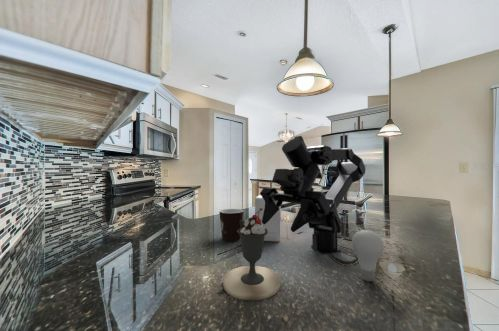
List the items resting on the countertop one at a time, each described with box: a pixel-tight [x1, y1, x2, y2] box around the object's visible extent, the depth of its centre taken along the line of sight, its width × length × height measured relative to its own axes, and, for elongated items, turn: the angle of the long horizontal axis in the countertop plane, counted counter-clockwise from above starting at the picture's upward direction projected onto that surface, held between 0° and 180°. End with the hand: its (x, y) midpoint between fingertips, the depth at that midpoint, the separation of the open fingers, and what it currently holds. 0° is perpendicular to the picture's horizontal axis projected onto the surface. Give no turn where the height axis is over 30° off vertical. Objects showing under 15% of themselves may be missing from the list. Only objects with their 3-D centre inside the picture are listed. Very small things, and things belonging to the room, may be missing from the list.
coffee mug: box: [218, 208, 244, 243], centre depth 78 cm, size 12×9×10 cm
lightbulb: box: [351, 229, 384, 282], centre depth 47 cm, size 6×6×11 cm
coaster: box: [222, 265, 281, 301], centre depth 46 cm, size 12×12×1 cm
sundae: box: [237, 208, 268, 285], centre depth 46 cm, size 7×7×15 cm
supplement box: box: [254, 194, 282, 243], centre depth 79 cm, size 9×9×15 cm
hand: (276, 226), depth 52 cm, fingers open, 9 cm apart
